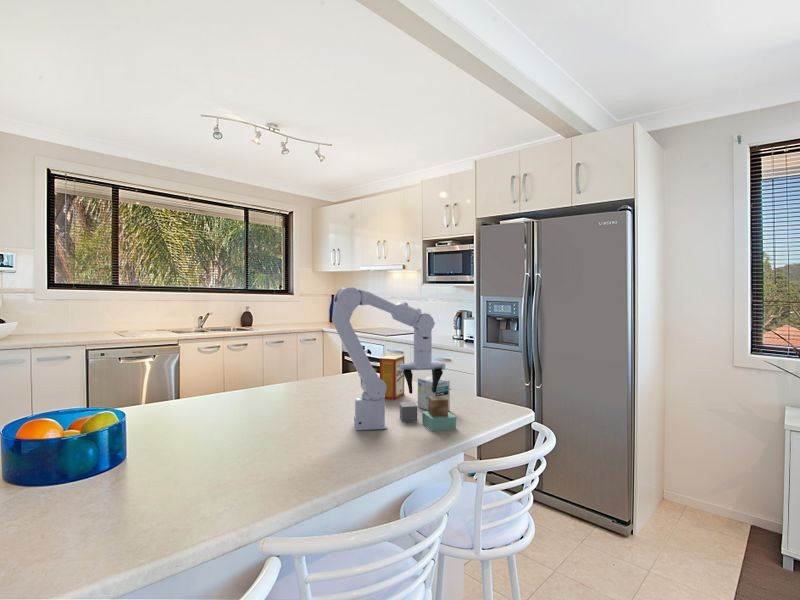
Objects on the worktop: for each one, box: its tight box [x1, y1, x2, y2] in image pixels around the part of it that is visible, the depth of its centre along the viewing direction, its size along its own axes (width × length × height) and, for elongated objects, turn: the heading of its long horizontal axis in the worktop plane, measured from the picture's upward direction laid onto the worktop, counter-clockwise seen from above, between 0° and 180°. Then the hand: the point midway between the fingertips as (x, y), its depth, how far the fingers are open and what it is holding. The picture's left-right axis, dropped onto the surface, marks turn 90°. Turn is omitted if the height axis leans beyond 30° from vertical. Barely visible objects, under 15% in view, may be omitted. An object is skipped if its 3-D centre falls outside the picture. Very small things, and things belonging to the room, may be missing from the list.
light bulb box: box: [417, 375, 451, 412], centre depth 152 cm, size 11×7×11 cm, turn 34°
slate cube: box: [399, 401, 418, 423], centre depth 140 cm, size 5×5×5 cm
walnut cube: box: [427, 396, 449, 417], centre depth 133 cm, size 5×5×5 cm
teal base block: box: [421, 410, 457, 432], centre depth 133 cm, size 8×8×4 cm
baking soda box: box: [379, 354, 405, 401], centre depth 170 cm, size 10×6×16 cm
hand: (422, 392), depth 137 cm, fingers open, 7 cm apart
